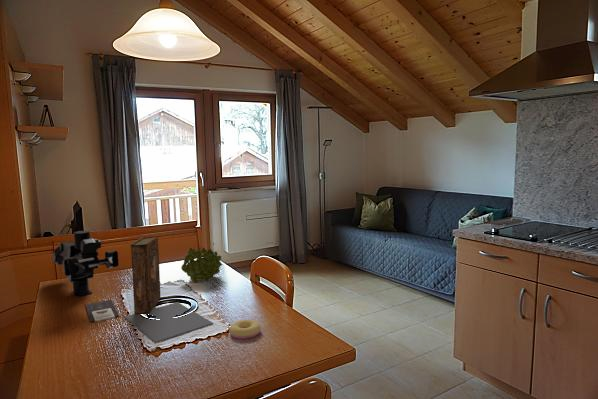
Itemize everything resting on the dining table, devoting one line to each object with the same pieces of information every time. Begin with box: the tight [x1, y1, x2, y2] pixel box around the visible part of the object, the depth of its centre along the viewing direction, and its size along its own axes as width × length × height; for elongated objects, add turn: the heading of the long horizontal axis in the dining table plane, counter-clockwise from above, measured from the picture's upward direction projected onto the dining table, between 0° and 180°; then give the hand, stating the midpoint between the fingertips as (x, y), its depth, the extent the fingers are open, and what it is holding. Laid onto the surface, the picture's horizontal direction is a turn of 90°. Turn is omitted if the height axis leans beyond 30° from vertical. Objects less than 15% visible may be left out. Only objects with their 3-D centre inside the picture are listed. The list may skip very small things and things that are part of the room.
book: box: [130, 236, 161, 314], centre depth 153 cm, size 16×6×25 cm, turn 5°
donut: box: [228, 319, 262, 340], centre depth 132 cm, size 10×5×9 cm
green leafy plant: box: [180, 247, 223, 283], centre depth 185 cm, size 18×16×16 cm
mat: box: [124, 301, 214, 344], centre depth 142 cm, size 26×20×1 cm
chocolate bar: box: [85, 299, 120, 324], centre depth 150 cm, size 9×1×18 cm
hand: (98, 267), depth 148 cm, fingers open, 9 cm apart
